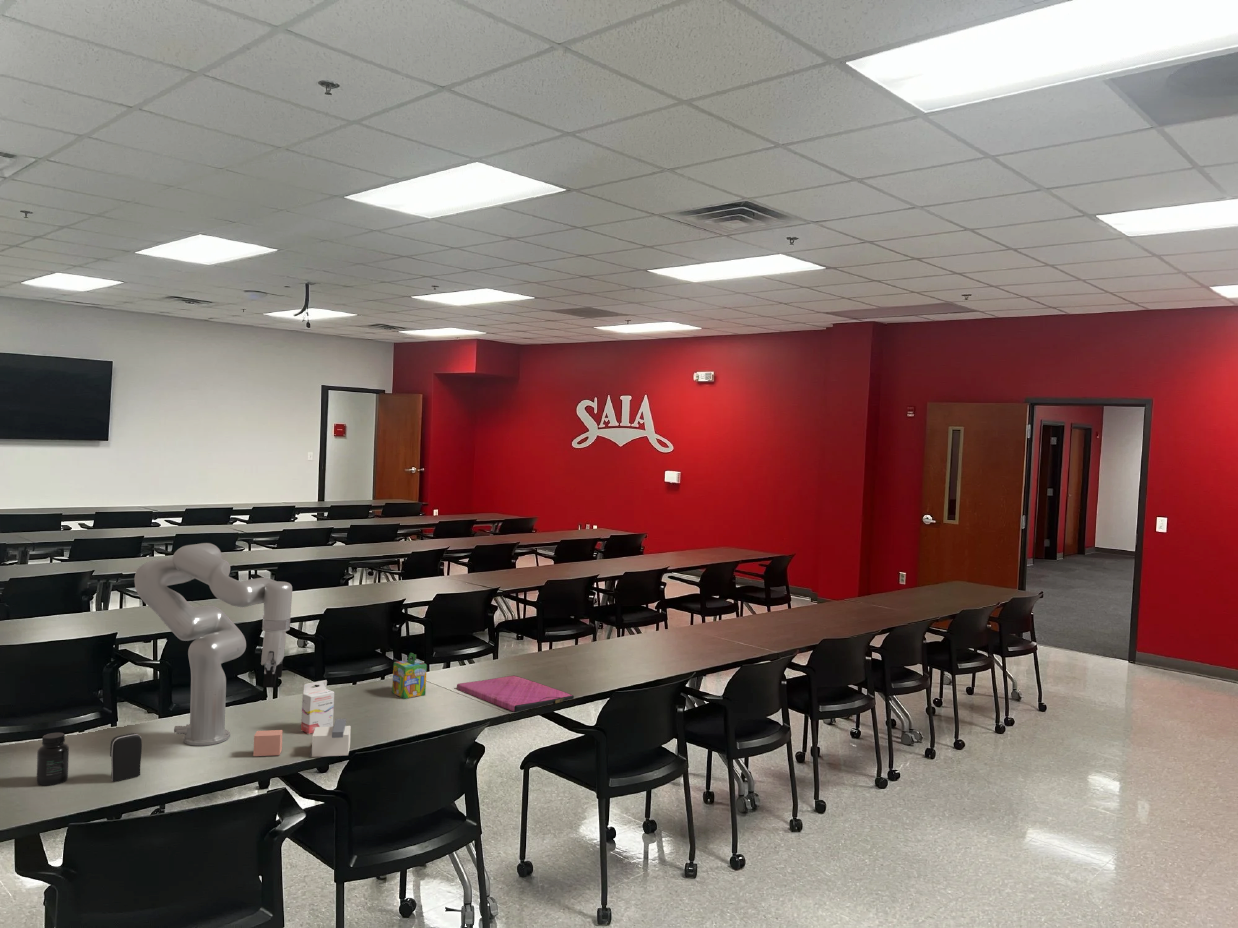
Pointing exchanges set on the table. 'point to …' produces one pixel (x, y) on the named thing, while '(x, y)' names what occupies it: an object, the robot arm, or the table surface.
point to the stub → (268, 743)
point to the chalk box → (409, 678)
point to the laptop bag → (514, 693)
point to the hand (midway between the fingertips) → (272, 681)
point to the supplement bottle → (52, 760)
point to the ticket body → (331, 740)
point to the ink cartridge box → (317, 707)
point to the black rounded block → (125, 756)
